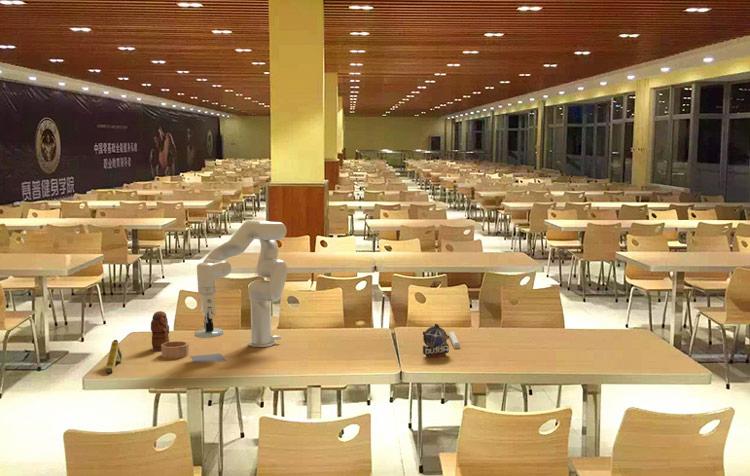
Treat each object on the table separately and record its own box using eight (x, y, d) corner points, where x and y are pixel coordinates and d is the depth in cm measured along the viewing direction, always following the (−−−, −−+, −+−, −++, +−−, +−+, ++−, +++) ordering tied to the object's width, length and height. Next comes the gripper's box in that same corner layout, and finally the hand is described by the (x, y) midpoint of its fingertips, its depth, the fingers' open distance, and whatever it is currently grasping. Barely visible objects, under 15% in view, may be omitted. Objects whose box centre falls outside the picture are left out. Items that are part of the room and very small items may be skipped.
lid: (220, 329, 382) (219, 314, 382) (226, 335, 371) (225, 320, 370) (192, 332, 378) (191, 317, 377) (197, 339, 366) (196, 323, 365)
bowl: (186, 351, 389) (185, 340, 388) (190, 357, 378) (190, 345, 377) (160, 354, 384) (159, 342, 384) (163, 360, 373) (163, 348, 373)
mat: (220, 354, 384) (220, 353, 384) (226, 361, 371) (226, 360, 371) (190, 357, 379) (190, 356, 379) (195, 364, 366) (195, 363, 366)
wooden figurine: (163, 351, 389) (162, 314, 387) (150, 351, 390) (149, 313, 388) (172, 345, 401) (170, 309, 399) (159, 345, 401) (157, 308, 399)
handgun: (122, 356, 373) (118, 336, 366) (115, 387, 358) (111, 368, 351) (116, 356, 373) (112, 336, 365) (109, 387, 358) (105, 368, 350)
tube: (448, 336, 417) (453, 349, 393) (448, 330, 417) (453, 342, 392) (454, 336, 418) (459, 349, 393) (454, 330, 417) (460, 342, 392)
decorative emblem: (446, 354, 381) (446, 322, 379) (448, 355, 379) (448, 323, 377) (422, 356, 377) (422, 324, 376) (424, 358, 375) (424, 325, 373)
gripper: (218, 292, 365) (220, 333, 368) (211, 286, 380) (213, 325, 383) (201, 294, 362) (203, 335, 365) (195, 287, 378) (197, 327, 380)
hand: (208, 329), depth 374 cm, fingers closed on lid, 3 cm apart
